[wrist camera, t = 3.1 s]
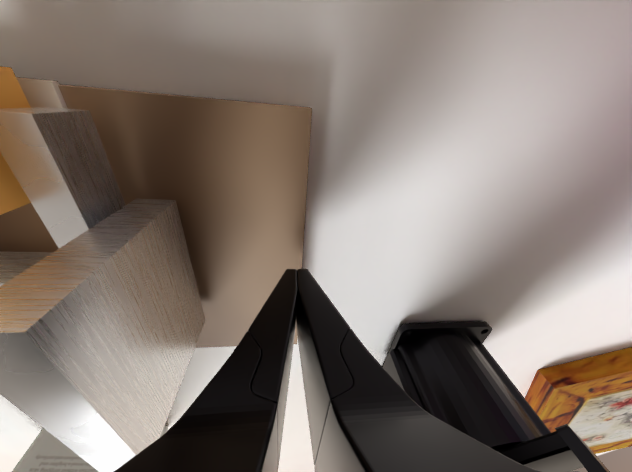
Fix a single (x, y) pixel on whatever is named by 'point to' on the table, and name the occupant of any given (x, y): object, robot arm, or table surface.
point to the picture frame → (588, 399)
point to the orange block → (3, 187)
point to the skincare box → (53, 456)
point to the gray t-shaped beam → (92, 295)
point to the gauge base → (199, 187)
